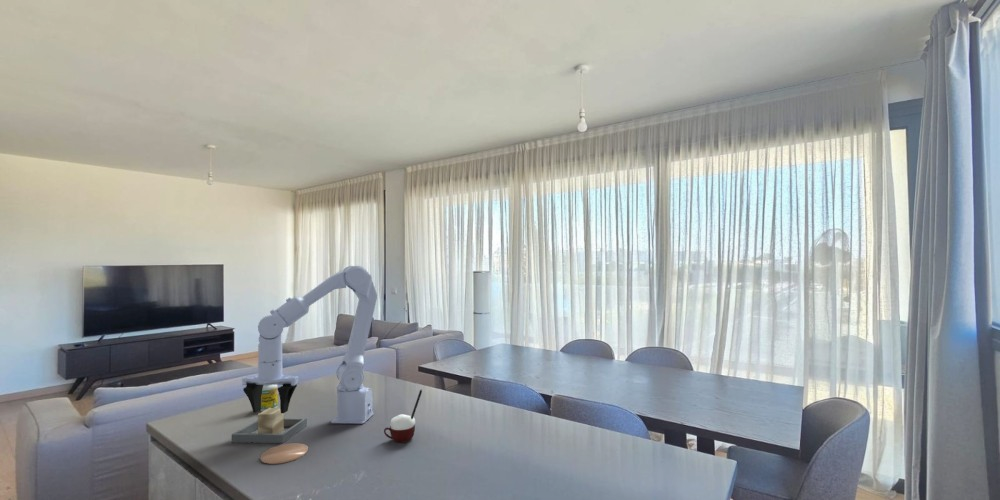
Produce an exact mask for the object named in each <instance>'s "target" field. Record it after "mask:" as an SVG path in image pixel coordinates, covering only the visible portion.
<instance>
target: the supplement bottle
mask: <svg viewBox="0 0 1000 500" xmlns="http://www.w3.org/2000/svg"><path fill="white" fill-rule="evenodd" d="M278 388H279V385H263V389H262V395H261V410H260V411H259V412H263V411H265V410H267V409H268V408H279V400H278V396H279V392H278Z"/></svg>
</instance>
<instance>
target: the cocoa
mask: <svg viewBox="0 0 1000 500" xmlns="http://www.w3.org/2000/svg"><path fill="white" fill-rule="evenodd" d="M422 393H423V390H422V389H419V392H418V396H417V398H416V400H415V404H414V407H413V411H412V413H411V415H408V414H398V415H396V416H394V417H392V418H390V425H389V427H385V428H384V429H383V433H384V435H385V436H386V438H388V439H390V440H393V441H394V442H395V443H398V444H401V443H403V444H404V443H407V442H409V441H411V439H413V437H414V435H415V430H416V419H415V417H414V416H415V414H416V410H417V408H418V404H419V402H420V400H421V396H422ZM387 430H389V432H390V435H389V434H388V433H387V432H386V431H387Z"/></svg>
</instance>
